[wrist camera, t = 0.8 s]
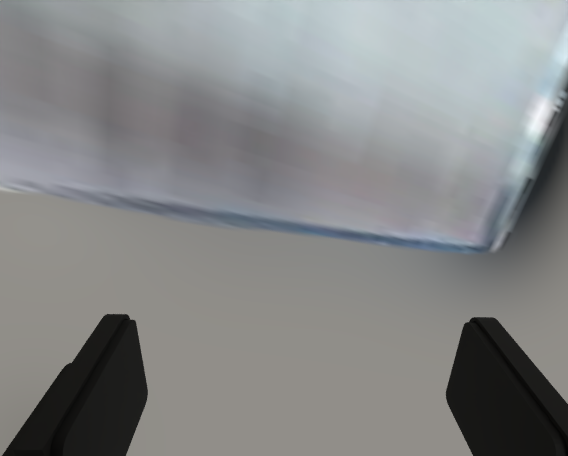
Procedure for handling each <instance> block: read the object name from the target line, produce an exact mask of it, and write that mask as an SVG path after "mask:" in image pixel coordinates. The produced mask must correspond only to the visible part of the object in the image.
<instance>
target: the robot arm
mask: <svg viewBox="0 0 568 456" xmlns="http://www.w3.org/2000/svg"><path fill="white" fill-rule="evenodd" d="M147 395H148V390H147V383H146V378H145V372H144V366H143V360H142V355H141V349H140V343H139V337H138V332H137V326H136V322H135V320H130V318H129V316H128V315H126V314H107V315H105V316H104V317H103V318H102V319H101V321H100V322H99V324H98V325H97V327H96V328H95V330H94V331H93V333H92V334H91V336H90V337H89V339H88V340H87V341H86V343H85V344H84V346H83V347H82V349H81V350H80V352H79V353H78V355H77V356H76V358H75V359H74V361H73V362H72V363H69V364H68V365H66V366H65V367H64V368H63V369H62V371H61V372H60V373H59V375H58V376H57V378H56V379H55V381H54V382H53V384H52V385H51V386H50V388H49V389H48V391H47V392H46V393H45V395H44V397H43V398H42V399H41V401H40V402H39V404H38V405H37V406H36V408H35V409H34V411H33V412H32V414H31V415H30V417H29V418H28V419H27V421H26V422H25V424H24V425H23V426H22V428H21V429H20V431H19V432H18V434H17V435H16V436H15V438H14V439H13V441H12V442H11V444H10V445H9V447H8V448H7V450H6V451H5V452H4V454H3V455H2V456H126V453H127V451H128V448H129V446H130V443H131V440H132V438H133V435H134V433H135V430H136V427H137V425H138V422H139V420H140V417H141V415H142V412H143V409H144V407H145V404H146V401H147ZM446 399H447V403H448V405H449V407H450V409H451V411H452V413H453V416H454V418H455V420H456V422H457V424H458V426H459V428H460V430H461V432H462V434H463V436H464V438H465V440H466V442H467V444H468V446H469V448H470V450H471V452H472V454H473V456H568V404H567V403H566V402H565V400H564V399H563V398H562V397H561V396H560V394H559V393H558V392H557V391H556V390H555V388H554V387H553V386H552V385H551V384H550V383H549V381H548V380H547V379H546V378H545V376H544V375H543V374H542V373H541V372H540V371H539V369H538V368H537V367H536V366H535V365H534V363H533V362H532V361H531V360H530V359H529V357H528V356H527V355H526V354H525V353H524V351H523V350H522V349H521V348H520V347H519V346H518V344H517V343H516V342H515V341H514V339H513V338H512V337H511V336H510V335H509V334H508V332H507V331H506V330H505V329H504V328H503V327H502V325H501V324H500V323H499V322H498V320H496V319H495V318H486V317H474V318H472V319H471V320H470V321H469V322H467V323H465V324H464V327H463V330H462V334H461V337H460V341H459V345H458V349H457V352H456V356H455V360H454V364H453V367H452V371H451V375H450V379H449V382H448V386H447V390H446Z"/></svg>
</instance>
